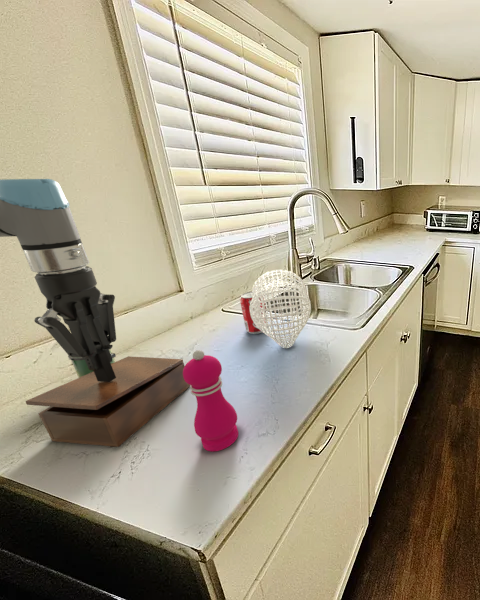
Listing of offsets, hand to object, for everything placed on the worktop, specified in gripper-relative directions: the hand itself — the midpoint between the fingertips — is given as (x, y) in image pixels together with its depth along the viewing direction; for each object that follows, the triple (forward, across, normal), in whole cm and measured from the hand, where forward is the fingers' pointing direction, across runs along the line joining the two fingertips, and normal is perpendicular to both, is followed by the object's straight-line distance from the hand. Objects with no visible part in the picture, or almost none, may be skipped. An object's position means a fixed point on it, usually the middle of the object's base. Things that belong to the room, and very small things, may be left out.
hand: (106, 379), depth 67 cm
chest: (+10, +2, 0) cm, 10 cm away
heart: (+10, +33, -23) cm, 41 cm away
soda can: (+10, +43, -8) cm, 45 cm away
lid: (+1, +1, 0) cm, 2 cm away
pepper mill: (+10, -4, -26) cm, 28 cm away
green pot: (+10, +10, +15) cm, 20 cm away
